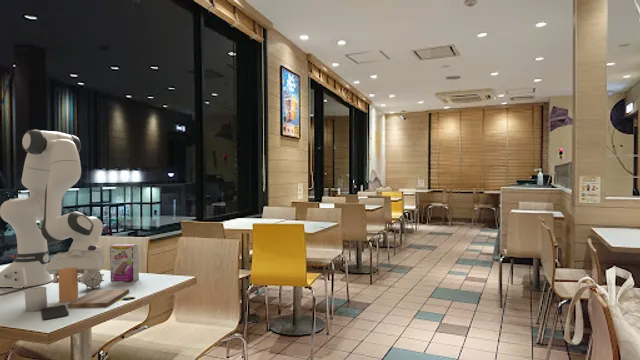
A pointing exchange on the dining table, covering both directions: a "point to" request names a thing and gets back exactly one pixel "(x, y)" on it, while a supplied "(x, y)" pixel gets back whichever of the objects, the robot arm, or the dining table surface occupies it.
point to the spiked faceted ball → (93, 280)
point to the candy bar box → (124, 262)
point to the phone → (54, 312)
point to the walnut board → (98, 298)
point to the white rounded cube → (35, 299)
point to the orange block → (68, 284)
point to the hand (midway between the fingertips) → (67, 282)
